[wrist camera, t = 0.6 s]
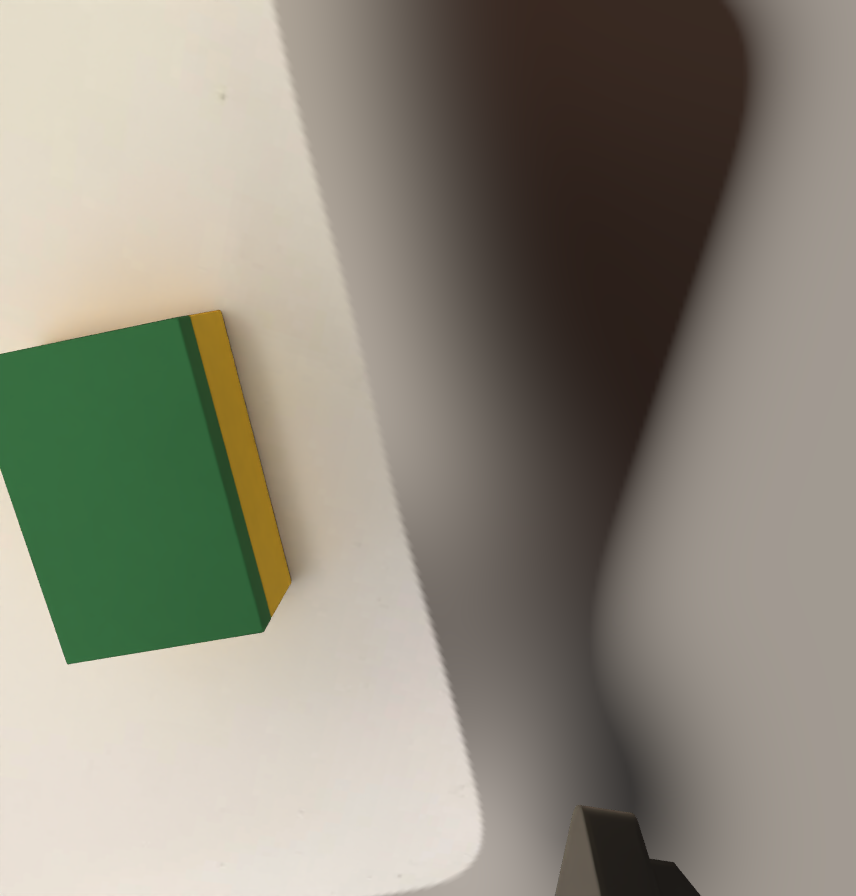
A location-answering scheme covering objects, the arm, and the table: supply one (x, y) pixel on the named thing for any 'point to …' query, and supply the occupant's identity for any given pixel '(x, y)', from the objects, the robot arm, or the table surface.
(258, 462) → the sponge
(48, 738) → the table surface
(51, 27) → the table surface
